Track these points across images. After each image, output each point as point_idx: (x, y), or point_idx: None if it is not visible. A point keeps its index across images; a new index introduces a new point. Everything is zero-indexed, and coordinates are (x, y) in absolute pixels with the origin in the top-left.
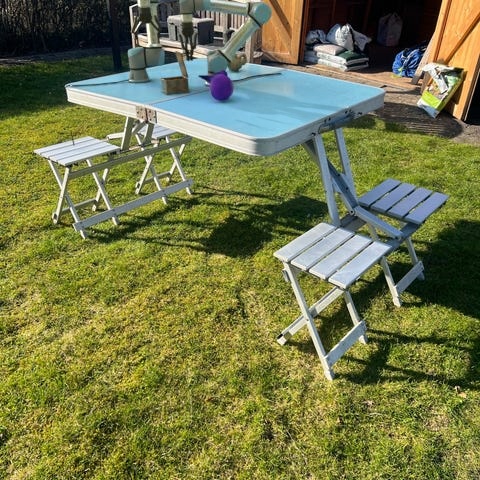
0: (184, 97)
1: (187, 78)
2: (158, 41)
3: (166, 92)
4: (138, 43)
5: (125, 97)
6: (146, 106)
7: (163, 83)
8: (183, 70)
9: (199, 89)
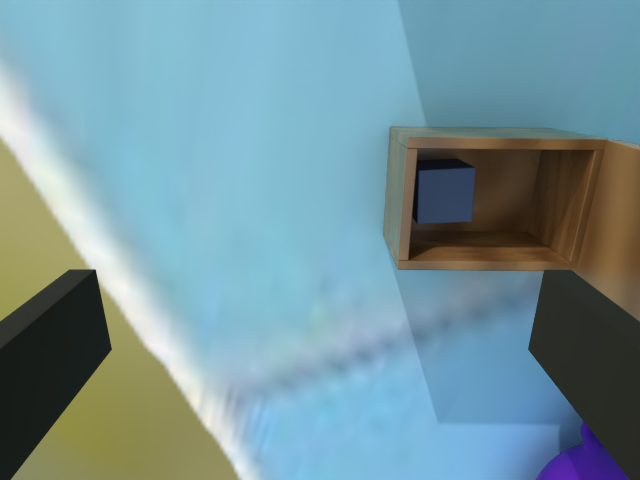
0: (443, 341)
1: (576, 266)
2: (552, 367)
3: (385, 227)
4: (83, 371)
5: (119, 173)
6: (207, 418)
7: (397, 187)
8: (606, 248)
9: None
